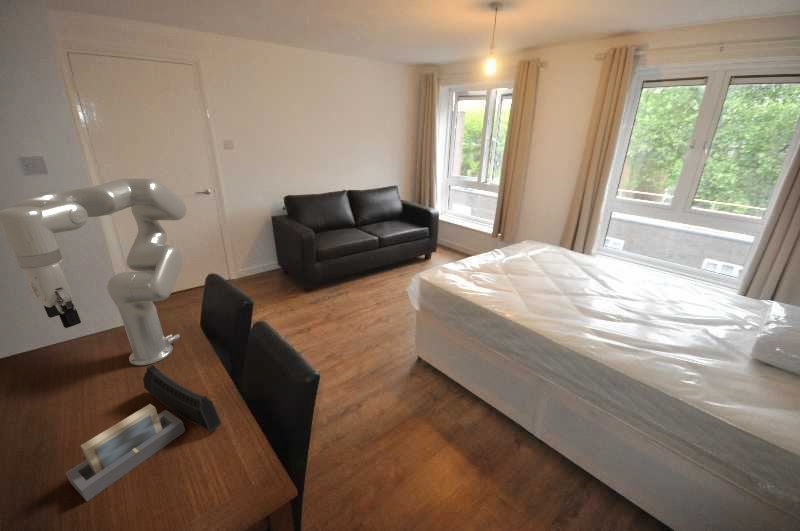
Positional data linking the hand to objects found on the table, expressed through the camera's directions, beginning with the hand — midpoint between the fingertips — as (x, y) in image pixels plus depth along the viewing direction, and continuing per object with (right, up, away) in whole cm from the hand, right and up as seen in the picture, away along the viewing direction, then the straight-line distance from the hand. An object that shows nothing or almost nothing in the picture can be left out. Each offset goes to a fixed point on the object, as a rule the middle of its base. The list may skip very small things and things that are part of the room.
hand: (64, 320), depth 86 cm
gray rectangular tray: (+21, -33, -4) cm, 39 cm away
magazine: (+25, -28, +9) cm, 38 cm away
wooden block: (+21, -32, -5) cm, 38 cm away
